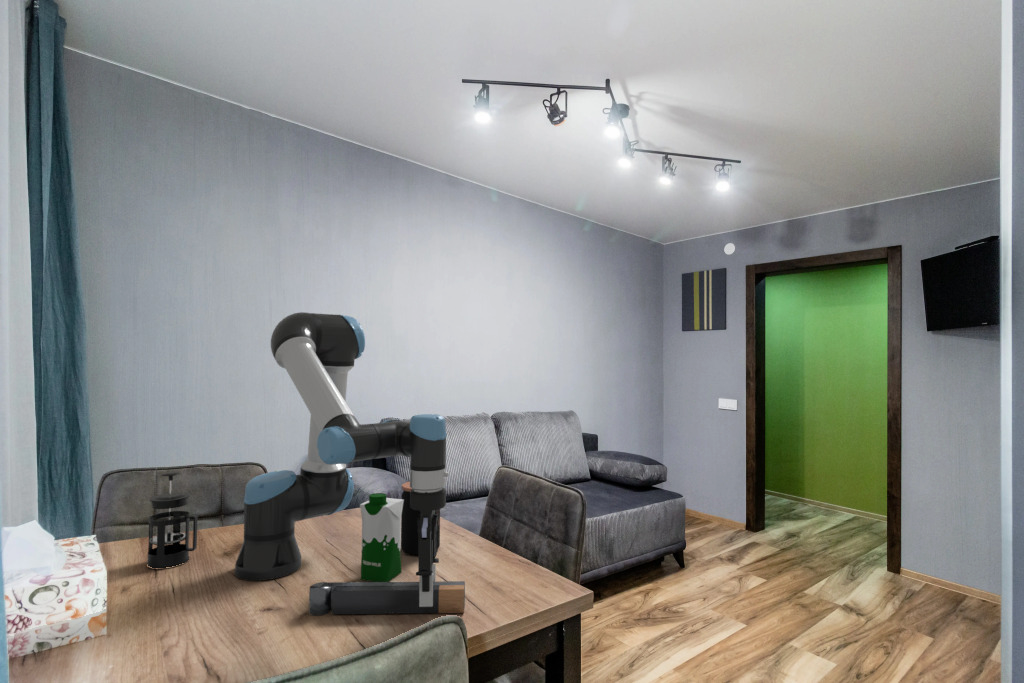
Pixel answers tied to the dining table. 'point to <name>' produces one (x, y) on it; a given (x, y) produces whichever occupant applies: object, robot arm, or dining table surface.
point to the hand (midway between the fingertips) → (427, 600)
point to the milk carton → (381, 538)
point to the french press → (175, 550)
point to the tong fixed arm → (323, 591)
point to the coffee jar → (412, 524)
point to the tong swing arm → (395, 600)
